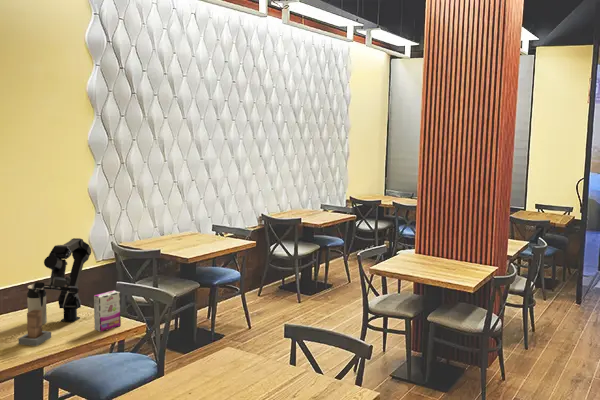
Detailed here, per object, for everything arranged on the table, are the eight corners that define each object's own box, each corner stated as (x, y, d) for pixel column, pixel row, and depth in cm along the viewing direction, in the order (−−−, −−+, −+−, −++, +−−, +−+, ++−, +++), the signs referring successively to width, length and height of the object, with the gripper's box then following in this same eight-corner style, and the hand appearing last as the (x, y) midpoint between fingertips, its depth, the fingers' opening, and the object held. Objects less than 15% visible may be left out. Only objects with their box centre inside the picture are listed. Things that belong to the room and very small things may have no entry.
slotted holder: (33, 335, 256) (33, 330, 255) (51, 337, 254) (51, 331, 254) (18, 344, 245) (18, 338, 245) (36, 345, 244) (36, 340, 244)
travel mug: (50, 320, 275) (49, 284, 273) (40, 326, 267) (40, 288, 265) (34, 319, 276) (33, 283, 273) (24, 325, 268) (23, 287, 266)
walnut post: (34, 338, 253) (34, 309, 251) (42, 339, 252) (41, 310, 250) (27, 342, 248) (27, 313, 246) (35, 343, 247) (34, 313, 246)
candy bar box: (114, 323, 274) (114, 289, 272) (121, 326, 271) (120, 292, 269) (93, 329, 265) (93, 295, 263) (100, 332, 262) (99, 297, 260)
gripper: (39, 267, 250) (33, 303, 245) (83, 272, 259) (78, 307, 254) (34, 271, 259) (28, 306, 254) (78, 276, 268) (72, 310, 263)
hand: (52, 307), depth 256 cm, fingers open, 9 cm apart
